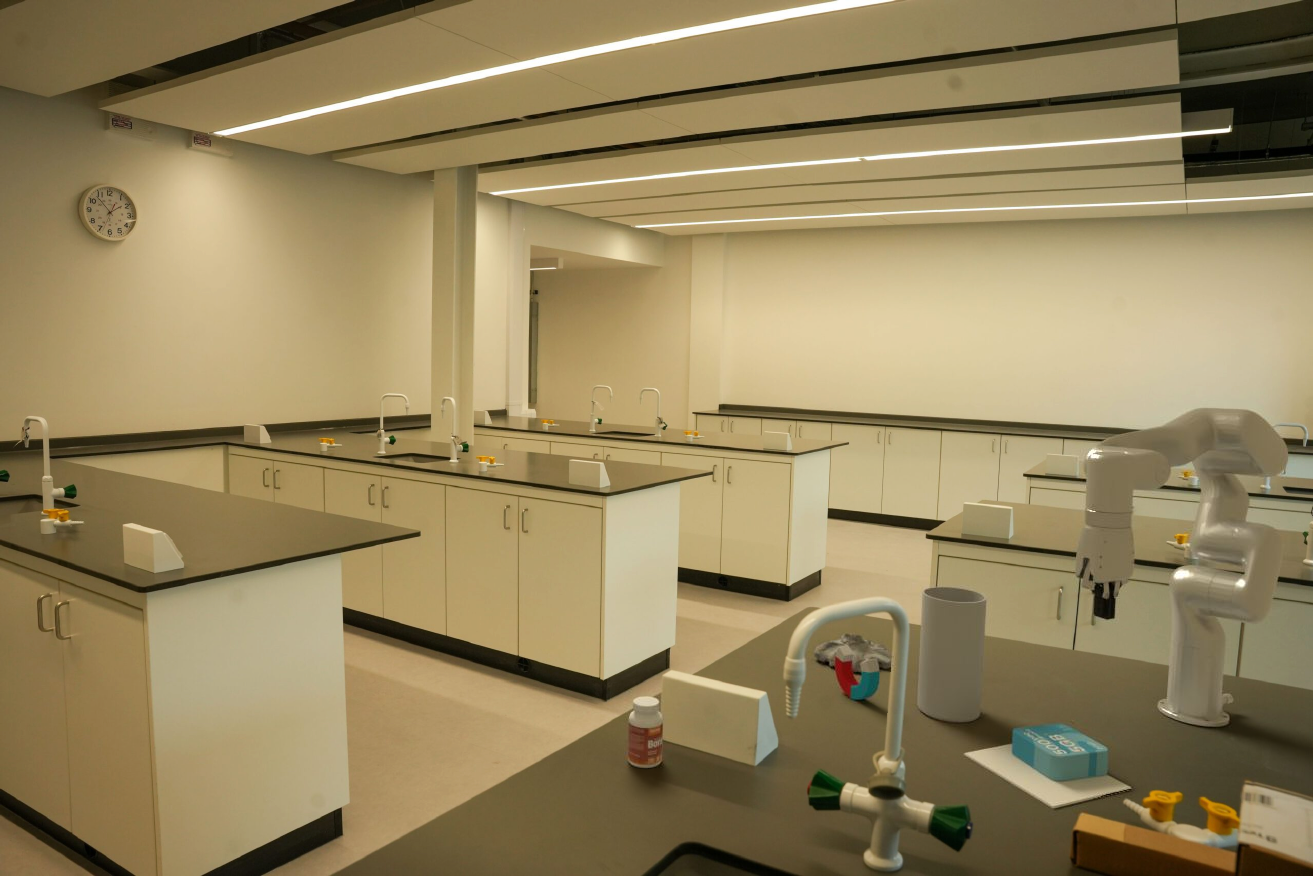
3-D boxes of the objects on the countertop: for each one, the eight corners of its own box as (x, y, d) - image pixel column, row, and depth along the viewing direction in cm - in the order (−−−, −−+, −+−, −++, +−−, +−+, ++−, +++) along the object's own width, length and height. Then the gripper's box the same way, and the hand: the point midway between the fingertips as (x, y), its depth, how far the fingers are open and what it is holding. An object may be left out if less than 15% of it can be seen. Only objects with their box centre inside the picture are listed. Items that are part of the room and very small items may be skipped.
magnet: (878, 706, 174) (880, 660, 173) (868, 708, 173) (870, 662, 172) (843, 687, 185) (844, 643, 184) (833, 689, 183) (835, 645, 183)
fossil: (858, 632, 213) (888, 616, 201) (876, 673, 209) (908, 660, 197) (802, 651, 206) (829, 636, 194) (820, 694, 202) (849, 682, 190)
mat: (1036, 740, 159) (1037, 738, 159) (1131, 789, 140) (1131, 787, 140) (964, 755, 152) (964, 753, 152) (1052, 808, 134) (1053, 806, 134)
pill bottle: (651, 772, 143) (652, 711, 142) (621, 764, 146) (622, 703, 145) (668, 758, 148) (669, 699, 148) (639, 750, 152) (640, 692, 151)
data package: (1113, 750, 144) (1056, 757, 141) (1111, 775, 145) (1054, 783, 141) (1062, 722, 156) (1008, 728, 153) (1061, 745, 156) (1007, 752, 153)
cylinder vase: (916, 718, 168) (922, 598, 166) (917, 696, 180) (922, 584, 178) (982, 728, 164) (988, 605, 162) (978, 704, 176) (984, 590, 174)
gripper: (1118, 512, 156) (1114, 606, 158) (1060, 519, 151) (1057, 616, 152) (1155, 519, 149) (1151, 617, 151) (1096, 526, 144) (1092, 628, 145)
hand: (1104, 617), depth 152 cm, fingers closed
